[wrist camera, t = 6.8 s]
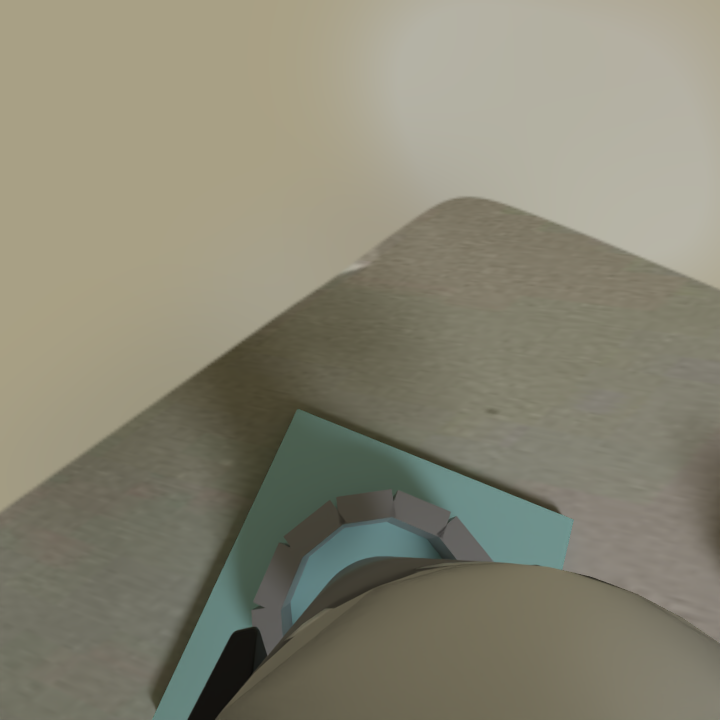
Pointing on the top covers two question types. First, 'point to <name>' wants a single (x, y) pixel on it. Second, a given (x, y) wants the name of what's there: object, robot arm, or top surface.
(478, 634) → the plug
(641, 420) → the top surface
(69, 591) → the top surface
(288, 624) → the socket
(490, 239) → the top surface
